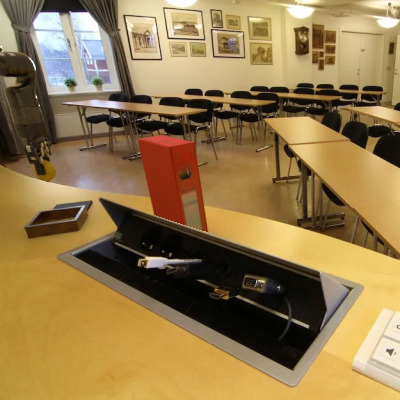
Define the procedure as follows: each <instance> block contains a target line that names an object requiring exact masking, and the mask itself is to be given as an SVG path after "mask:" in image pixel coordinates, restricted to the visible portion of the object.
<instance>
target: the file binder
mask: <svg viewBox="0 0 400 400" xmlns="http://www.w3.org/2000/svg"><path fill="white" fill-rule="evenodd" d="M137 144H138V147H139V152H140V157H141V160H142V161H141V162H142V166H143V170H144V175H145V180H146V185H147V188H148V189H147V190H148V192H149V199H150V203H151V207H152V211H153V216H154V215H156V216H159V217H162V218H165V219H168V220H171V221H174V222H177V223H180V224H183V225H186V226H189V227H193V228H196V229H199V230H202V231H206V232H208V233H209V229H208V222H207V216H206V209H205V203H204V194H203V189H202V182H201V175H200V169H199V168H200V167H199V162H198V156H197V149H196V142H195V141H191V140H187V139H183V138H178V137H174V136H170V135H165V134H159V135H151V136H146V137H140V138H137Z"/></svg>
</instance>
